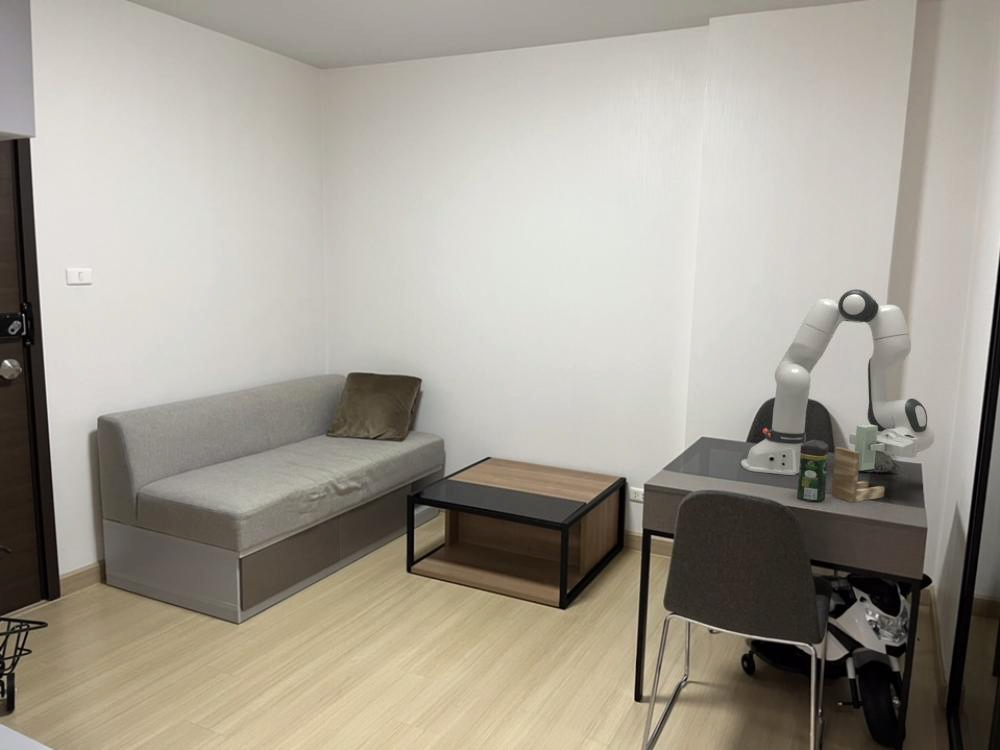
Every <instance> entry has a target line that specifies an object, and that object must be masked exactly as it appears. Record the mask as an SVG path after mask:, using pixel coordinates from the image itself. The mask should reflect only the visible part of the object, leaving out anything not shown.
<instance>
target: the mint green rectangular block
mask: <svg viewBox="0 0 1000 750" xmlns="http://www.w3.org/2000/svg"><path fill="white" fill-rule="evenodd" d="M855 432H856V441H855V445H854V451H856V452H860V457H859V468H858V470H868V469H874V465H875V454H876V450H874V451H872V450H868V445H869V444H876V443H877V435H878V432H879V431H878V426H875V425H871V424H870V423H869V424H859V425H856V431H855Z"/></svg>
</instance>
